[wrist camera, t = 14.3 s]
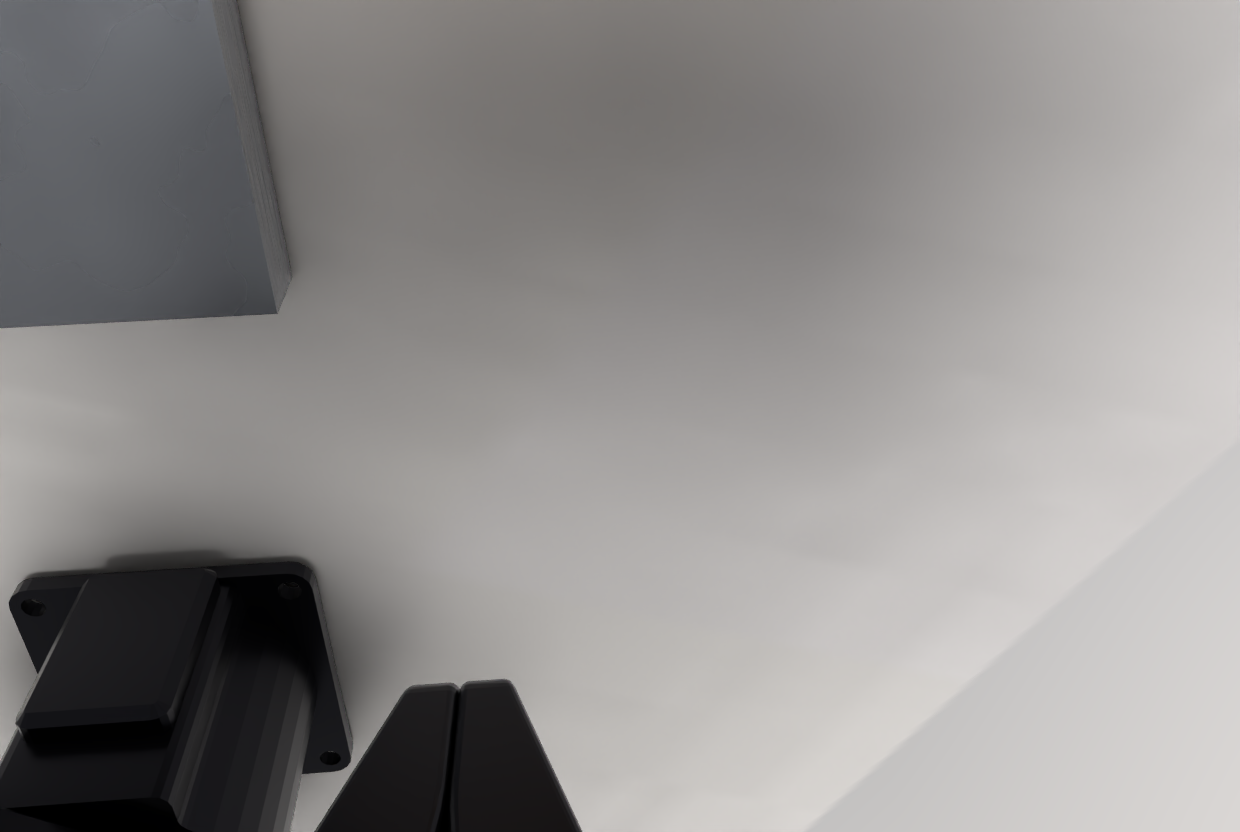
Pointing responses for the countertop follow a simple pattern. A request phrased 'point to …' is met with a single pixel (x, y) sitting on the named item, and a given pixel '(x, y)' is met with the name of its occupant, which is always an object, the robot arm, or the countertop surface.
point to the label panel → (132, 165)
